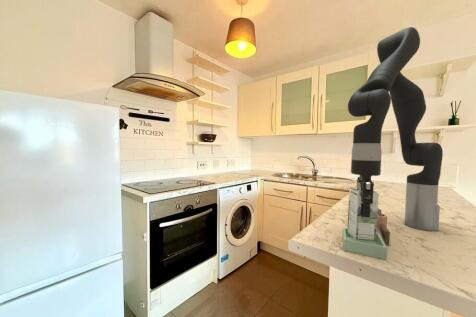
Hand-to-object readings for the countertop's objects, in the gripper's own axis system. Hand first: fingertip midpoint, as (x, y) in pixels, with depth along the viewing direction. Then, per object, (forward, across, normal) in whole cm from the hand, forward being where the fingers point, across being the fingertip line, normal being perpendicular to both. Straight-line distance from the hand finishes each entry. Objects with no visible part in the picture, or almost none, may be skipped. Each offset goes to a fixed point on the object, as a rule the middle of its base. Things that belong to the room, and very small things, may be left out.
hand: (363, 213), depth 60 cm
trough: (+11, 0, 0) cm, 11 cm away
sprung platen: (+9, +9, -2) cm, 13 cm away
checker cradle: (+11, +9, -2) cm, 14 cm away
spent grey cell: (+11, +18, -6) cm, 22 cm away
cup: (+11, +18, -6) cm, 22 cm away
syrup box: (+8, 0, 0) cm, 8 cm away
